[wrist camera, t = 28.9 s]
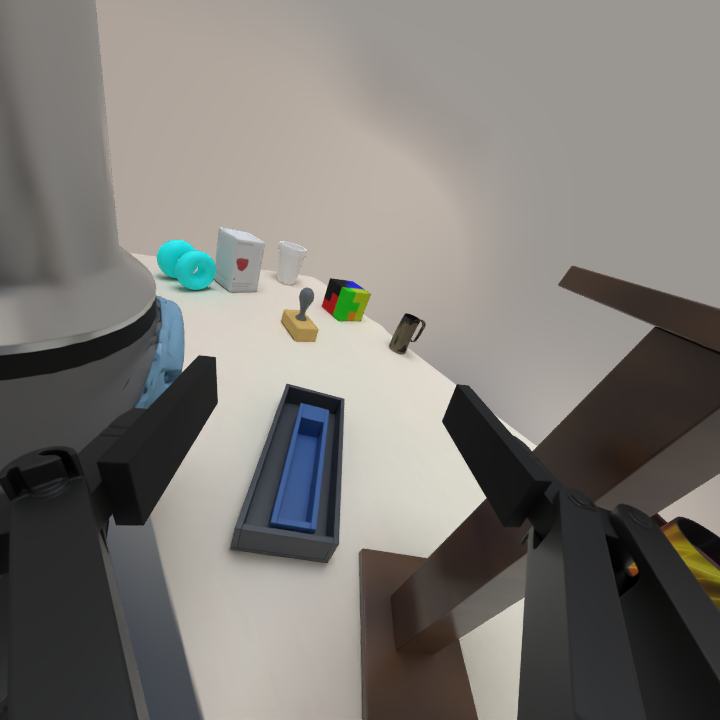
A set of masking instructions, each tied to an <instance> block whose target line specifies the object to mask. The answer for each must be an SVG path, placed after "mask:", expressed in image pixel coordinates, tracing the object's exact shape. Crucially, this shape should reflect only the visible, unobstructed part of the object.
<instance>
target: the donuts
mask: <svg viewBox="0 0 720 720" xmlns="http://www.w3.org/2000/svg"><path fill="white" fill-rule="evenodd" d="M177 260H178V261H177ZM157 262H158V266H159V268H160V269H161V270H162V272H163V273H165V274H166V275H167V276H169V277H172V278H176V279H178V281H179V282H180V283H181V284H182V285H183V286H184V287H186V288H188V289H191V290H200V289H203V288H206V287H207V286H208V285H210V284H211V282H212V281H213V280H214V277H215V274H216V266H215V263H214V261H213V259H212V258H211V257H210V256H209V255H208V254H206V253H204V252H202V251H196V250H195V249H194V248H193V247H192V246H191V245H190V244H189V243H187V242H185V241H182V240H171V241H168V242H166V243H164V244H163V245H162V246H161V247H160V249H159V251H158V254H157ZM197 266H198V270H197V272H196V273H194V272H195V270H196V269H197ZM193 273H194V274H193Z"/></svg>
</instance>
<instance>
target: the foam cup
mask: <svg viewBox="0 0 720 720" xmlns="http://www.w3.org/2000/svg"><path fill="white" fill-rule="evenodd" d="M306 252H307V250H306V249H305V248H303V247H302V246H299V245H296V244H294V243H291V242H287V241H280V242H279V257H278V271H277V280H278V281H279V282H281V283H284V284H287V285H294V283H295V281H296V278H297V276H298V273H299V271H300V268H301V266H302V263H303V260H304V258H305V257H306Z"/></svg>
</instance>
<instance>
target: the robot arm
mask: <svg viewBox="0 0 720 720" xmlns="http://www.w3.org/2000/svg"><path fill="white" fill-rule="evenodd" d="M183 362H184V323H183V317H182V312H181V309H180V308H179V306H178V305H177V304H176V303H175V302H173V301H170V300H166V299H165V298H162V297H161V296H156V285H155V280H154V278H153V276H152V274H151V273H150V271H149V270H148V268H146V267H145V266H144V265H143V264H142V263H141V262H140V261H139V260H137V259H136V258H135V257H134V256H132V255H131V254H130V253H128V252H127V251H126V250H124V249H123V248H122V247H121V246H119V242H118V232H117V222H116V211H115V201H114V191H113V180H112V169H111V160H110V149H109V139H108V128H107V117H106V107H105V97H104V87H103V76H102V66H101V55H100V45H99V35H98V24H97V13H96V3H95V0H0V490H4V491H5V493H2V494H0V579H1V576H2V575H3V574H7V573H9V612H8V682H7V720H150V718H149V714H148V710H147V706H146V702H145V698H144V693H143V689H142V685H141V681H140V677H139V672H138V668H137V664H136V660H135V656H134V652H133V647H132V643H131V639H130V635H129V631H128V627H127V623H126V618H125V614H124V610H123V606H122V602H121V598H120V593H119V589H118V585H117V581H116V577H115V573H114V569H113V564H112V560H111V556H110V552H109V548H108V543H107V539H106V535H105V531H104V528H103V526H104V525H105V523H106V522H107V521H108V519H109V518H110V516H111V515H112V514H113V517H114V520H115V523H116V525H144V524H145V522H146V521H147V519H148V517H149V516H150V514H151V512H152V511H153V509H154V507H155V506H156V504H157V502H158V501H159V499H160V497H161V496H162V494H163V493H164V491H165V489H166V488H167V486H168V484H169V483H170V481H171V479H172V478H173V476H174V474H175V473H176V471H177V469H178V468H179V466H180V464H181V463H182V461H183V459H184V458H185V456H186V454H187V453H188V451H189V450H190V448H191V446H192V445H193V443H194V441H195V440H196V438H197V436H198V435H199V433H200V431H201V430H202V428H203V426H204V425H205V423H206V421H207V420H208V418H209V416H210V415H211V413H212V411H213V410H214V408H215V407H216V405H217V403H218V397H217V375H216V357H209V356H200V355H199V356H198V357H197V358H196V359H195V360H194V361H193V362H192V363H191V364H190V365H189V366H188V367H187V368H186V369H185V370H184V371H183V372H182V367H183ZM442 422H443V424H444V426H445V427H446V429H447V431H448V433H449V434H450V436H451V438H452V439H453V441H454V443H455V445H456V446H457V448H458V450H459V451H460V453H461V455H462V457H463V458H464V460H465V462H466V463H467V465H468V467H469V469H470V470H471V472H472V474H473V475H474V477H475V479H476V480H477V482H478V484H479V486H480V487H481V489H482V491H483V492H484V494H485V496H486V498H487V499H488V501H489V503H490V504H491V506H492V508H493V510H494V511H495V513H496V515H497V516H498V518H499V520H500V521H501V523H502V525H503V527H521V526H522V524H523V523H524V521H525V520H526V518H528V520H529V521H530V522H531V524H532V527H531V528H530V530H529V531H528V532H527V534H526V535H525V536H524V538H523V539H522V541H521V543H520V544H522V545H524V544H525V542H527V541H528V552H527V568H526V585H525V601H524V618H523V634H522V651H521V667H520V684H519V700H518V717H517V720H720V611H719V609H718V608H717V607H716V605H715V604H714V602H713V601H712V600H711V598H710V597H709V595H708V594H707V593H706V591H705V590H704V588H703V587H702V586H701V584H700V583H699V581H698V580H697V579H696V577H695V576H694V574H693V573H692V572H691V570H690V569H689V567H688V566H687V565H686V563H685V562H684V560H683V559H682V558H681V556H680V555H679V554H678V552H677V551H676V549H675V548H674V547H673V545H672V544H671V542H670V541H669V540H668V538H667V537H666V535H665V534H664V533H663V531H662V530H661V528H660V527H659V526H658V525H657V524H656V523H655V522H654V521H653V520H652V519H651V518H650V517H649V516H648V515H647V514H645V513H644V512H642V511H641V510H639V509H637V508H634V507H632V506H630V505H627V504H618V505H617V506H616V507H615V508H614V510H613V511H610V510H606V509H603V508H600V507H597V506H596V505H595V503H594V502H593V501H592V500H591V499H590V498H588V497H587V496H586V495H585V494H583V493H581V492H580V491H578V490H576V489H573V488H571V487H566V486H563V485H562V484H561V483H560V482H559V481H558V480H557V478H556V477H555V476H554V475H553V474H552V473H551V472H550V471H549V470H548V468H547V467H546V466H545V465H544V464H543V463H542V462H541V461H539V459H538V457H537V456H536V455H535V454H533V452H532V451H531V450H530V449H529V447H528V446H527V445H526V444H525V443H523V442H522V441H521V440H519V439H518V438H517V437H515V436H513V435H512V434H511V433H510V432H509V431H508V430H507V429H506V427H505V426H504V425H503V424H502V423H501V422H500V421H499V419H498V418H497V417H496V416H495V415H494V414H493V413H492V411H490V409H489V408H488V407H487V406H486V405H485V404H484V402H483V401H482V400H481V399H480V398H479V397H478V396H477V394H476V393H475V392H474V391H473V390H472V389H471V388H470V387H469V386H467V385H459V384H457V385H456V388H455V390H454V393H453V395H452V398H451V400H450V403H449V405H448V408H447V410H446V413H445V415H444V418H443V420H442ZM633 563H635V565H636V566H637V569H638V573H637V574H636V575H635V576H632V574H631V572H630V571H629V569H628V568H629V567H630V566H631V565H632V564H633Z"/></svg>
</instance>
